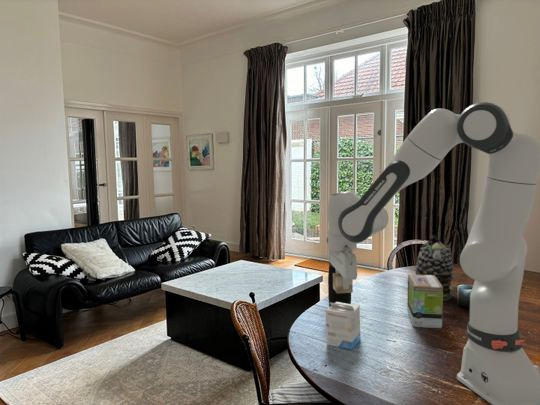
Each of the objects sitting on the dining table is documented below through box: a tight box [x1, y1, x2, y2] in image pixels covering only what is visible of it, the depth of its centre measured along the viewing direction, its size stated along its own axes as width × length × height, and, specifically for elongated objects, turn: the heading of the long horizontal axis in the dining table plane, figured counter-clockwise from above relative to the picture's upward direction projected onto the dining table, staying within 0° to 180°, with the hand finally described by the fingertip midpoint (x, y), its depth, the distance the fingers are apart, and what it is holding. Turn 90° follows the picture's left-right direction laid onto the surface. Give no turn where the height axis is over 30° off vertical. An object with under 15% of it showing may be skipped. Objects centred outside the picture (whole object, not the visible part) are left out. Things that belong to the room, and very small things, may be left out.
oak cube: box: [333, 273, 354, 294], centre depth 129 cm, size 5×5×5 cm
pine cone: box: [414, 234, 454, 301], centre depth 170 cm, size 21×15×25 cm
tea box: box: [406, 273, 444, 329], centre depth 146 cm, size 15×10×15 cm, turn 168°
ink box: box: [325, 302, 361, 351], centre depth 130 cm, size 9×8×13 cm
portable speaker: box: [327, 261, 352, 308], centre depth 154 cm, size 9×9×20 cm
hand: (342, 285), depth 129 cm, fingers closed on oak cube, 5 cm apart
